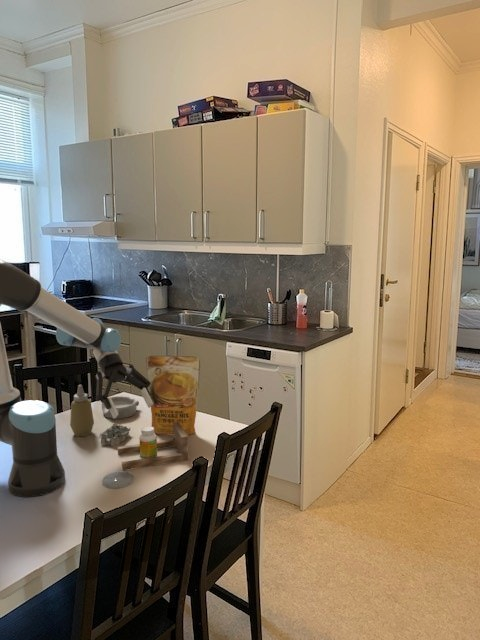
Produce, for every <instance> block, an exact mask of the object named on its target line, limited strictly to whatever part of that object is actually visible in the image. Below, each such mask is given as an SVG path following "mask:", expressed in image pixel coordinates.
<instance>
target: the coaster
mask: <svg viewBox="0 0 480 640" xmlns="http://www.w3.org/2000/svg"><path fill="white" fill-rule="evenodd" d="M134 480H135V477H134V474H133V473H131V472H129V471H125V470H121V471H120V470H119V471H118V470H117V471H114V472H110V473H108V474H106V475H105V476H104V477H102V479H101V484H102V485H103V486H104V487H106V488H108V489H116V490H117V489H122V488H125V487H128V486H130V485H131V484H132V483H133V482H134Z"/></svg>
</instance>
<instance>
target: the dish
mask: <svg viewBox="0 0 480 640" xmlns="http://www.w3.org/2000/svg"><path fill="white" fill-rule="evenodd" d="M110 397H111V399H112V401H113V403H114V406H115V408H116V410H117V412H118V416H117V417H116V418H115V419H116V420H119V419H126V418H129V417H132V416H133V415H134V414H136V411H137V407H138V406H139V405H140V402H139V400H136V399H135V398H132V397H129V396H122V395H121V396H119V395H117V396H110ZM101 409H102V413H103V415H104V416H105V417H106V418H108V419H113V416H112V414H111V412H110V410H109V409H108V410H107V409H106V407H105V405H104V403H102V402H101ZM115 419H113V420H115Z"/></svg>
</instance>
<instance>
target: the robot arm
mask: <svg viewBox="0 0 480 640" xmlns="http://www.w3.org/2000/svg"><path fill="white" fill-rule="evenodd" d="M2 305H3V306H7V307H10V308H12V309H15V310H17V311H18V312H27V313H30V314H31V315H34V316H35V317H37V318H39V319H41V320H43V321H44V322H46V323H48V324H50V325H51V326H54V327H55V328H56V332H55V338H56V340H57V343H58V344H59V345H62V346H67V347H71V346H72V347H79V348H82V349H83V348H85V349H90V350H91V352H92V354H93V355H94V358H95V360H96V362H97V364H98V367H99V368H100V371H97V373H96V375H95V376H94V377H95V380H96V389H95V393H96V394H95V401H96V402H100V403H101V404H102V403H104V405H105V407H106V409H107V410H108V409H109V410H110V412H111V414H112V416H113V420H115V418H116V417H117V416H118V412H117V410H116V408H115V406H114V403H113V401H112V399H111V397H112V396H109V395H110V391H111V387H112V385H113V384H116V383H118V382H120V383H121V382H125V383H126V382H127V383H128V384H130V385H132V386H134V387H136V388H138V389H139V390H141V391H140V395H141V396H142V398H143V400H144V402H145V403H146V406H147V408H148V409H149V408H150V409H151V406H152V405H153V402H152V400H151V398H150V396H151V394H150V392H149V385H150V384H151V383H150V382H149V381H148V378H146V377H145V376H144V375H143V374H142V373H140V372H139V370H136V368H135V367H134V364H129V365H128V366H125V365H124V363H123V361H122V358H121V356H120V354H119V353H118V349H119V348H120V346H121V343H122V336H121V333H120V331H118V330H117V329H114V328H112V327H106V326H105V325H104V323H103V321H102V319H100V318H98V317H90V316H88V315H86V314H85V313H83V312H82V311H80V310H78V309H77V308H75V307H73V306H72V305H70V304H69V303H67V302H66V301H64V300H62V299H61V298H59V297H57V296H56V295H54V294H53V293H51V292H50V291H48V290H46V289H45V288H43V287H42V284H41V282H40V281H39V280H37V279H36V278H34V277H33V276H31V275H30V274H28V273H26V272H25V271H23V270H22V269H20V268H18V267H17V266H15V265H13V264H11V263H9V262H7V261H5V260H3V259H0V307H1V306H2ZM103 379H106V380H107V382H106V384H105V385H106V386H105V388H104V392H103V384H104V383H103V382H104V380H103ZM56 422H57V418H56V414H55V410H54V407H53V406H52V405H50V403H49V402H45V401H42V400H38V399H36V400H33V399H28V400H22V398H21V392H20V390H19V389H18V388H16V387H14V386H13V380H12V375H11V370H10V366H9V360H8V355H7V350H6V345H5V340H4V335H3V330H2V324H1V322H0V442H1V443H4V444H6V445H9V446H11V451H12V452H11V453H12V465H11V467H10V472H9V476H8V480H7V487H8V491H9V493H10V494H12V495H13V496H17V497H22V498H23V497H24V498H32V497H39V496H42V495H43V496H44V495H46V494H49V493H51V492H54V491H56V490H57V489H59V488H60V487H62V486H63V484H65V481H66V473H65V468H64V466H63V464H62V462H61V460H60V458H59V455H58V445H57V431H56V430H57V428H56V427H57V425H56Z"/></svg>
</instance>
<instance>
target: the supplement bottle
mask: <svg viewBox="0 0 480 640" xmlns="http://www.w3.org/2000/svg"><path fill="white" fill-rule="evenodd" d="M151 426H152V425H151ZM151 426H150V425H147V426H142V428H140V429H141V431H140V432H141V434H140V435H139V444H140V452H139V457H140V459H145V458H151V457H158V449H157V441H158V440H157V434H156V433H155V432H154V428H153V427H151Z"/></svg>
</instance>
